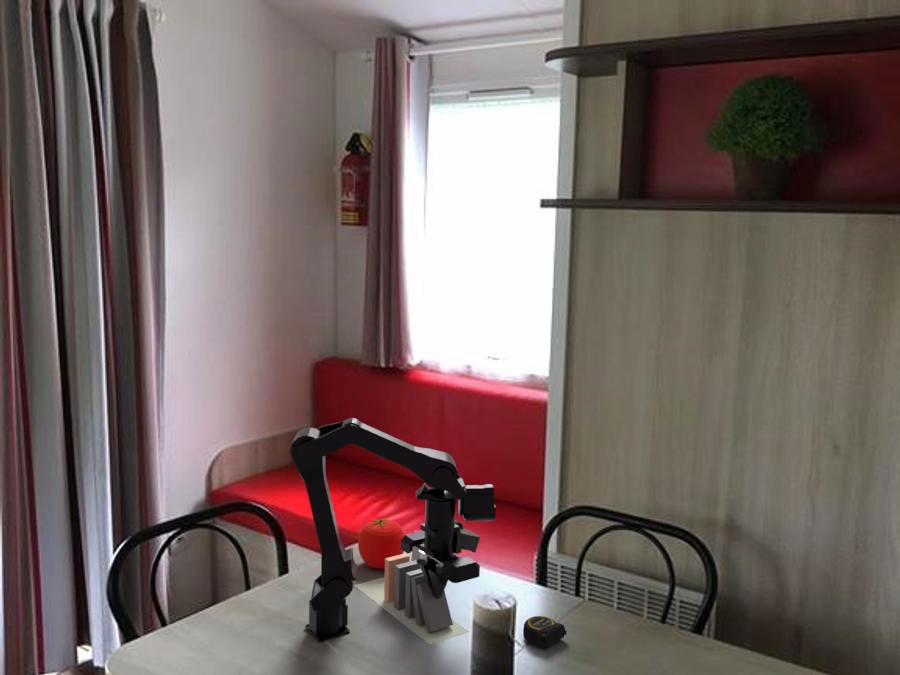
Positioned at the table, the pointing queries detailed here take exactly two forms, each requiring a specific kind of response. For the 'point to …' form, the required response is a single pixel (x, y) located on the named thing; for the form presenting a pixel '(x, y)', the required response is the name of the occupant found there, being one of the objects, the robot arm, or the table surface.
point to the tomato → (380, 542)
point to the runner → (376, 593)
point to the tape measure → (542, 631)
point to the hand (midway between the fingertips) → (437, 597)
